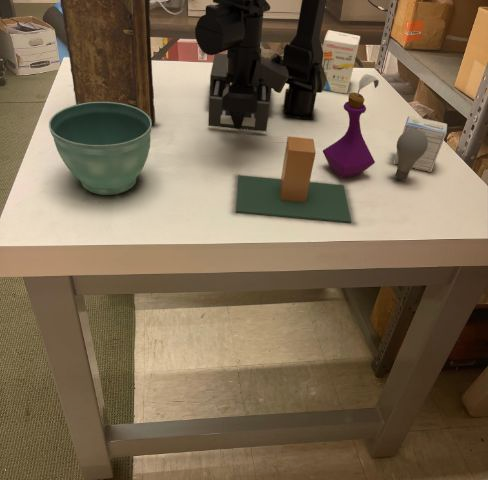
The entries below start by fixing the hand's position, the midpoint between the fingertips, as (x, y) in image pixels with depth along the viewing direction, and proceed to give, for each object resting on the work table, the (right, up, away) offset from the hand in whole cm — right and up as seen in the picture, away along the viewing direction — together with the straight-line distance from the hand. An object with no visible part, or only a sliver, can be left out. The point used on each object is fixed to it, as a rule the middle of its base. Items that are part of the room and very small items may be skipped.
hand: (237, 128), depth 98 cm
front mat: (+10, -17, -9) cm, 21 cm away
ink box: (+25, +24, +32) cm, 47 cm away
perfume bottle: (+21, -9, 0) cm, 23 cm away
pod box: (+10, -16, -9) cm, 21 cm away
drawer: (0, +6, +10) cm, 11 cm away
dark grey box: (0, +14, +19) cm, 24 cm away
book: (-26, +4, +7) cm, 27 cm away
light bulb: (+32, -11, -1) cm, 34 cm away
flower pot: (-23, -14, -11) cm, 29 cm away
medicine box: (+36, -6, +5) cm, 37 cm away
